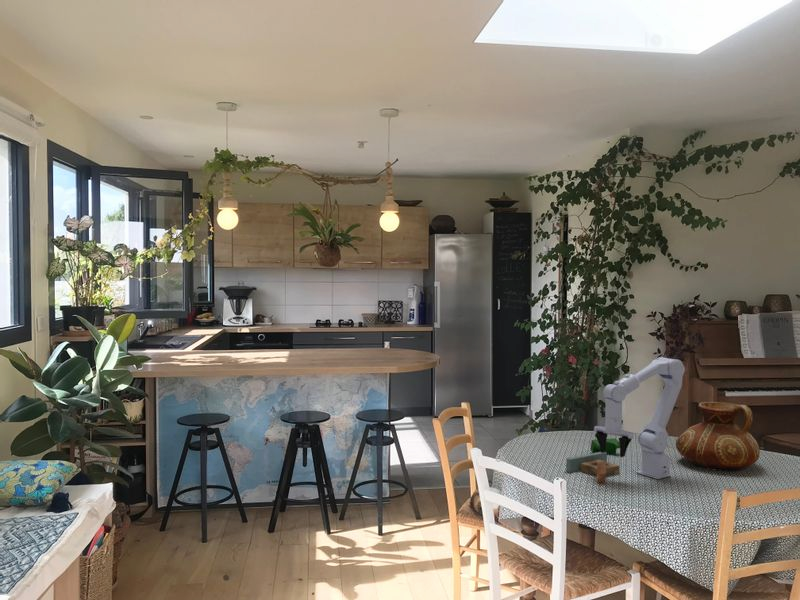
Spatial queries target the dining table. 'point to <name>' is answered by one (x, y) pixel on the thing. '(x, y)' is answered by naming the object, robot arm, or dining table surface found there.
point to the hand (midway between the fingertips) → (612, 454)
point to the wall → (583, 460)
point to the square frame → (591, 468)
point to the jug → (720, 439)
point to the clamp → (610, 446)
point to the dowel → (601, 472)
